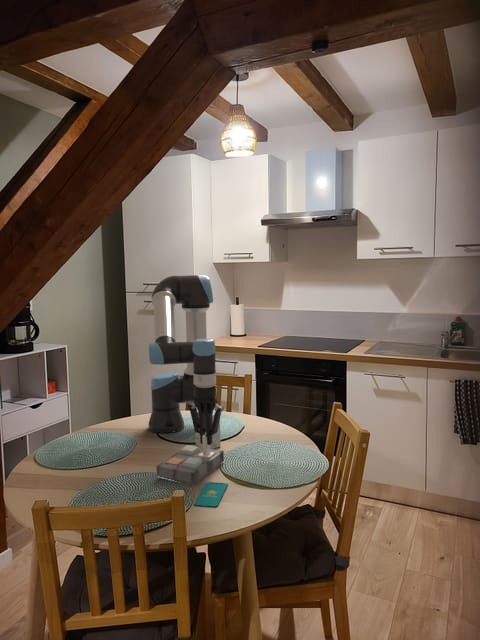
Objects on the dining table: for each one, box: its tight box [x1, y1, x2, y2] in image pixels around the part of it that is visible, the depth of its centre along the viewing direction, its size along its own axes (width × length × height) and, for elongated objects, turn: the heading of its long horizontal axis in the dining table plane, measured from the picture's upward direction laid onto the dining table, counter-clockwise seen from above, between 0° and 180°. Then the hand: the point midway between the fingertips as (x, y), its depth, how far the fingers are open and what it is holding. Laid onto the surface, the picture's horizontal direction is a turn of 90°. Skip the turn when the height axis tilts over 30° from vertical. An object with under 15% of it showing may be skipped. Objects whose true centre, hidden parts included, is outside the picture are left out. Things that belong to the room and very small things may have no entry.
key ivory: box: [198, 452, 215, 459], centre depth 164 cm, size 4×4×3 cm
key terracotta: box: [166, 457, 185, 466], centre depth 158 cm, size 4×4×3 cm
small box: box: [194, 410, 222, 449], centre depth 183 cm, size 8×6×13 cm
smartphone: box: [193, 481, 229, 508], centre depth 144 cm, size 7×1×15 cm
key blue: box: [183, 457, 202, 469], centre depth 156 cm, size 4×4×3 cm
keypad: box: [156, 446, 225, 487], centre depth 161 cm, size 14×20×4 cm
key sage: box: [180, 444, 199, 456], centre depth 167 cm, size 4×4×3 cm
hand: (206, 453), depth 164 cm, fingers closed
